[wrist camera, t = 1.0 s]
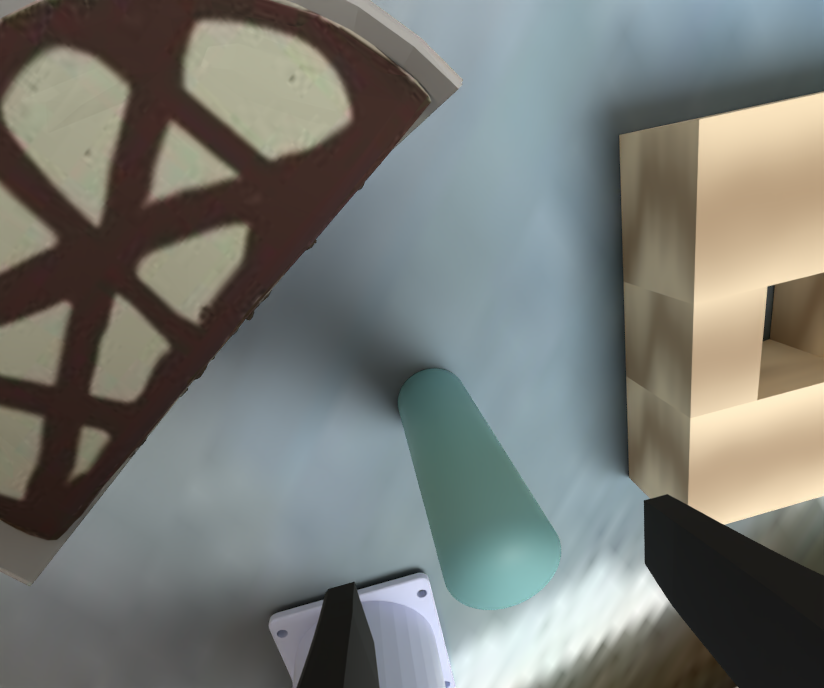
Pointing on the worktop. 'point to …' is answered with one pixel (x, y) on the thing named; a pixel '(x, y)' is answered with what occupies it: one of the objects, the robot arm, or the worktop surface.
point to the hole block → (726, 307)
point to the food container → (164, 209)
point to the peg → (474, 498)
